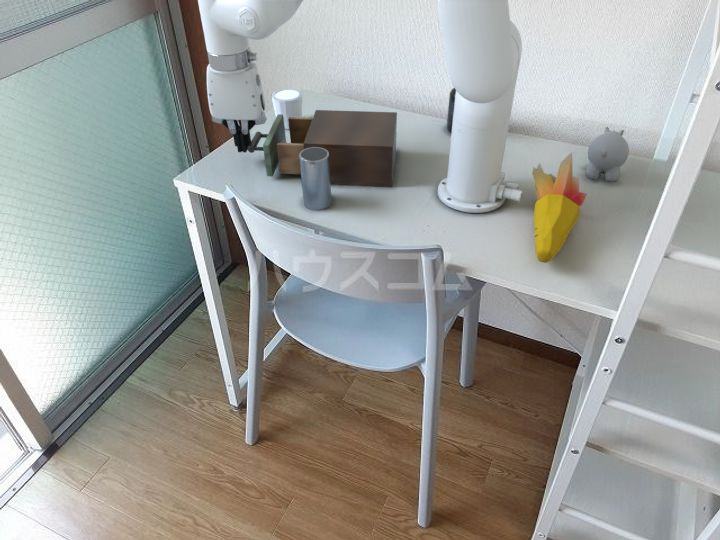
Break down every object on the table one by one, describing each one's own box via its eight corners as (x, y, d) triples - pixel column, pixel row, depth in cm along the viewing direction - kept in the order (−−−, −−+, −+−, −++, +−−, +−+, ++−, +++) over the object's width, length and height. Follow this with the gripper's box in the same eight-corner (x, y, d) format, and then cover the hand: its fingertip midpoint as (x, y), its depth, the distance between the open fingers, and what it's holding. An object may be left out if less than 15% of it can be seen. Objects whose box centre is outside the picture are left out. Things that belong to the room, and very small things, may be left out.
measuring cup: (306, 194, 109) (302, 146, 103) (333, 195, 109) (330, 147, 102) (300, 213, 104) (295, 164, 98) (328, 214, 104) (325, 165, 98)
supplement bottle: (481, 135, 127) (489, 81, 119) (452, 138, 126) (457, 85, 118) (470, 121, 132) (476, 69, 124) (442, 124, 131) (446, 72, 123)
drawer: (245, 175, 113) (240, 144, 109) (261, 143, 124) (257, 113, 119) (345, 179, 112) (344, 147, 107) (353, 146, 122) (352, 116, 117)
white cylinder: (303, 130, 130) (300, 100, 125) (272, 130, 130) (269, 100, 126) (305, 117, 135) (303, 88, 131) (276, 117, 135) (273, 88, 131)
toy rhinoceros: (626, 159, 118) (638, 120, 112) (618, 187, 109) (631, 147, 104) (590, 152, 120) (600, 113, 115) (579, 179, 112) (589, 139, 107)
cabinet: (306, 183, 112) (303, 143, 107) (318, 147, 123) (315, 109, 118) (391, 187, 111) (392, 146, 105) (395, 150, 122) (396, 112, 117)
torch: (531, 286, 94) (548, 191, 110) (581, 279, 89) (592, 181, 105) (512, 250, 89) (533, 157, 105) (564, 241, 85) (578, 145, 101)
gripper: (274, 52, 108) (283, 141, 119) (196, 50, 109) (213, 139, 121) (265, 67, 102) (276, 159, 114) (183, 65, 103) (202, 157, 115)
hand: (243, 149), depth 117 cm, fingers closed
